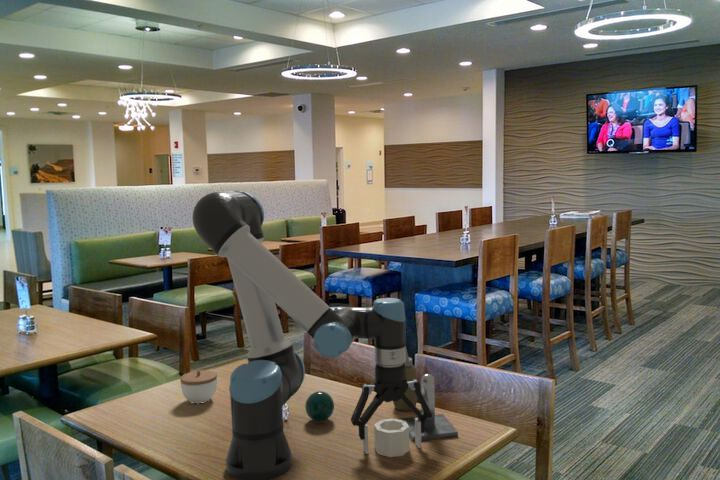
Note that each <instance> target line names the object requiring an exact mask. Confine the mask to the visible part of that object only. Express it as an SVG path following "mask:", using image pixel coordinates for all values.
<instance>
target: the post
mask: <svg viewBox="0 0 720 480" xmlns="http://www.w3.org/2000/svg"><path fill="white" fill-rule="evenodd" d="M420 391H421V393H422V395H423V397H424V399H425V401H426V403H427V405H428V407H429V409H430V411H431V413H432V417H431V418H427V419H426V421H425V432H424V433H421V441H427V440H429V441H430V440H437V439H447V438H454V437H459V431H458V430H457V429H456V428H455V427H454V425H453V424H452V423H451V422H450V421H449V419H448V418H447V417H446V416H445V415H444V414H443V413H440V414H436V409H435V408H436V407H435V405H436V403H435V400H436V399H435V394H436V393H435V391H436V390H435V378H434V376H433V375H432V374H430V373H425V374H423V375H422V376H421V379H420ZM420 406H421V405H420ZM420 409H421V411H420V412H421V413H422V412H424V410H423V408H422V406H421V408H420ZM415 418H418V417H417V416H411V417H401V418H400V419H399V420H402V421H406V423H407V424H408V426H409V439H410V440H411V441H412V442H415Z"/></svg>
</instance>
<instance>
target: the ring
mask: <svg viewBox="0 0 720 480" xmlns="http://www.w3.org/2000/svg"><path fill="white" fill-rule="evenodd" d="M373 426H374V450H375V452H376V453H377V454H378V455H381V456H385V457H387V458H393V457H394V458H395V457H402V456H405V454H407V453H408V452H410V437H409V426H408V424H407V423H406V421H402V420H400V419H397V418H387V419H380V420H379V421H378V422H376V423H375V424H373Z"/></svg>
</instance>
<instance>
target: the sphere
mask: <svg viewBox="0 0 720 480" xmlns="http://www.w3.org/2000/svg"><path fill="white" fill-rule="evenodd" d="M304 406H305V407H304V408H305V413H306V415H307V416H308V417H309V419H311V420H312V421H315V422H324V421H326V420H329V419H330V418H331V417H332V415H333V413H334V410H335V402H334V399H333V397H332V396H331V394H328V393H327V392H325V391H323V390H322V391H321V390H318V391H315V392H312V393H311V394H310V395H309V396H308V397H307V399H306V400H305V405H304Z"/></svg>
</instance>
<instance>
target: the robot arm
mask: <svg viewBox="0 0 720 480" xmlns="http://www.w3.org/2000/svg"><path fill="white" fill-rule="evenodd" d="M264 211H265V210H264V208H263V205H262V204H261V203H260V201H259V199H257V197H256V196H254V195H252V194H250V193H248V192H246V191H240V190H233V191H216V192H215V191H214V192H210V193H208V194H206V195H204V196H202V197H201V198H200V199H199V200H198V201H197V202H196V204H195V206H194V208H193V211H192V223H193V224H192V225H193V228H194V229H195V231H196V233H197V235H198V236H199V238H200V239H201V240H202V241H203V243H205V244H206V246H208V248H210V249H211V251H213V253H215V254H216V255H217V256H218V257H219V258H226V259H227V263H228V266H229V270H230V274H231V277H232V281H233V284H234V289H235V292H236V297H237V301H238V303H239V304H238V305H239V308H240V311H241V314H242V315H241V316H242V318H243V322H244V325H245V330H246V333H247V337H248V340H249V344H250V349H249V351H248V353H247V354H246V357H247V358H246V359H247V363H242V364H240V365H238V366H237V367H235V369H233V371H232V372H231V375H230V378H229V379H230V381H229V388H228V389H229V394H230V395H229V397H230V399H229V400H230V411H231V412H230V413H231V416H230V417H231V434H232V435H231V441H230V443H229V446H228V447H229V448H228V451H227V454H226V458H225V471H226V473H227V475H228V476H230V477H231V478H232V479H235V480H271V479H275V478H278V477H280V476H281V475H283V474H285V473H286V472H288V471H289V470H290V469H291V467H292V465H293V455H292V450H291V448H290V445H289V442H288V439H287V437H286V434H285V432H284V431H285V430H284V419H283V418H284V415H283V407H284V406H285V405H286V403H287V402H288V401H289V400H290V399H291V397H293V396H295V395H296V394H297V392H298V391H299V389H300V388H301V387H302V385H303V382H304V379H305V375H306V368H305V363H304V360H303V358H302V357H301V356H300V354H298V353H297V352H296V351H295V350H294V346H293V342H292V341H291V340H288V339H287V338H285V335H284V331H283V328H282V324H281V319H280V316H279V314H278V309H277V306H278V307H279V308H280V309H282V310H283V311H284V313H286V314H287V315H288V316H289V317H290V318H291V319H293V321H294V322H295V323H297V325H298V326H300V327H301V328H302V329H303V330H304V331H305V333H307V334H308V335H310V337H311V338H312V339H313V345H314V348H315V350H316V352H317V353H318V354H319V355H321V356H323V357H324V358H328V359H333V358H337V357H340V356H341V355H342V354H344V353H345V352H347V351H348V350H349V349H350V347H351V345H352V343H353V342H354V341H355V340H356V339H359V340H360V339H362V340H363V339H364V340H365V339H366V340H371V339H373V341H374V342H373V343H374V344H373V345H374V362H375V365H374V384H367V383H363V384H362V387H361V394H360V397H359V398H358V401H357V403H356V405H355V408H354V411H353V413H352V415H351V418H350V422H351V424H352V426H353V427H354V426H356V427H358V437H359V439H360V440H361V441H362V442H363V443H362V445H363V446H362V447H363V448H362V449H363V451H364V454H365V455H368V454H370V453H369V427H368V425H367V424H368V423H369V421H370V419H371V418H372V417H373V415H374V414H375V412H376V411H377V410H378V409H379V407H380V406H381V405H382V404H383V402H385V403H390V402H393V401H398V400H400V399H402V400H403V401H404V402H405V403H406V404H407V405H408V406H409V408H410V409H411V410H410V411H412V413H414V415H415V417H418V418H415V441H414V442H415V443H414V444H415V445H416V447H417V448H418V449H421V448H422V440H421V433H424V432H425V421H426V419H427V418H431V417H432V413H431V411H430V409H429V407H428V405H427V403H426V401H425V399H424V397H423V395H422V393H421V383H420V382H419V381H418V379H417V380H416V379H413V380H412V381H409V382H407V380H406V364H405V363H404V362H405V361H406V349H407V347H406V348H405V346H406V345H407V343H406V319H407V318H406V313H405V312H406V311H405V303H404V301H402V300H401V299H398V298H396V297H395V298H394V297H385V298H377V299H375V300H374V301H373V303H372V304H373V305H372V306H370V307H361V306H360V307H358V306H356V307H355V306H341V305H339V306H331V307H330V306H329V305H328V304H327V303H326V302H325V301H324V300H323V299H322V298H321V297H320V296H318V294H316V293H315V292H314V291H313V290H312V289H311V288H310V287H309V286H307V284H306V283H304V282H303V281H302V279H300V278H299V277H298V276H297V275H296V274H295V273H294V272H292V270H290V269H289V268H288V267H287V266H286V265H285V263H283V262H282V261H281V260H280V259H279V258H278V257H276V255H274V254H273V253H272V252H271V251H270V250H269V249H268V248H267V247H266V246H264V245H263V242H264V240H265V235H264V233H263V229H262V226H263V223H264V221H265V212H264ZM408 387H410V388H411V389H412V390H414V392H415V394H416V396H417V398H418V400H417V401H418V403H419V405H420V406H422V408H423V410H424V412H422V413H421V411H420V410H419V408H418V407H417V405H416V406H415V405H414V404H413V403H412V402H411V401H410V400H409V398H408V397H407V396H406V395H405V394H404V393H405V392H406V390H407V389H408ZM373 391H375V393H376V394H375V395H374V397H373V399H372V401H371V402H370V403H369V405H368V406H367V407H366V404H367V403H368V400H369V396H370V395H371V394H372V392H373ZM365 407H366V409H365ZM364 409H365V410H364ZM363 411H364V412H363Z"/></svg>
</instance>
